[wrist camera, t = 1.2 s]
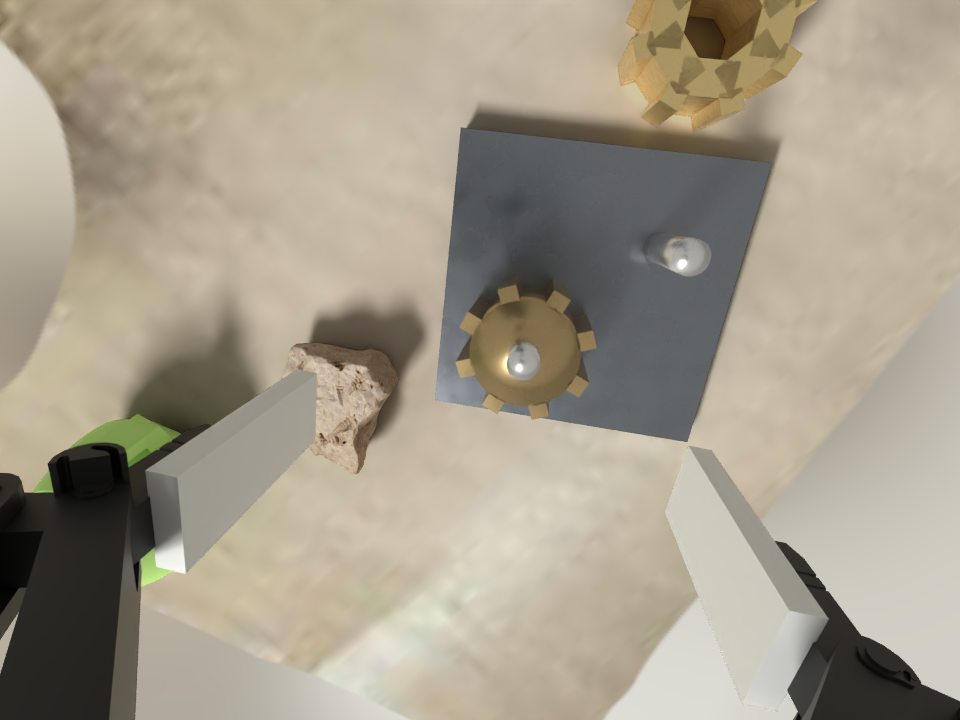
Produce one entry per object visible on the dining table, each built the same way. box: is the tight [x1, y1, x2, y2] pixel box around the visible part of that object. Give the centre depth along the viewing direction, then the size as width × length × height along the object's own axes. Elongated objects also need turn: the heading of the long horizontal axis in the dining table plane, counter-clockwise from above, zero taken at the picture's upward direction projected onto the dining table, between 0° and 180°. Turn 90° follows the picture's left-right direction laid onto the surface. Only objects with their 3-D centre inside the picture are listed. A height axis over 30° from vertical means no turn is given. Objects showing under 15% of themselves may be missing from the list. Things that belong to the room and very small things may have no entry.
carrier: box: [435, 128, 772, 442], centre depth 30 cm, size 20×20×8 cm
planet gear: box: [618, 0, 818, 131], centre depth 26 cm, size 9×9×5 cm
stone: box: [281, 343, 399, 474], centre depth 37 cm, size 9×11×5 cm
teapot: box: [32, 414, 181, 587], centre depth 39 cm, size 20×13×13 cm
